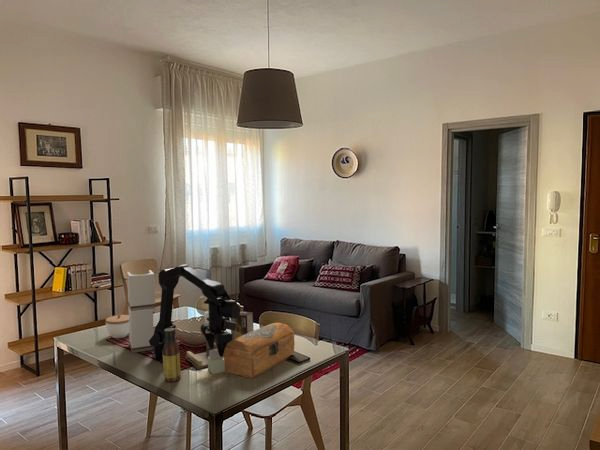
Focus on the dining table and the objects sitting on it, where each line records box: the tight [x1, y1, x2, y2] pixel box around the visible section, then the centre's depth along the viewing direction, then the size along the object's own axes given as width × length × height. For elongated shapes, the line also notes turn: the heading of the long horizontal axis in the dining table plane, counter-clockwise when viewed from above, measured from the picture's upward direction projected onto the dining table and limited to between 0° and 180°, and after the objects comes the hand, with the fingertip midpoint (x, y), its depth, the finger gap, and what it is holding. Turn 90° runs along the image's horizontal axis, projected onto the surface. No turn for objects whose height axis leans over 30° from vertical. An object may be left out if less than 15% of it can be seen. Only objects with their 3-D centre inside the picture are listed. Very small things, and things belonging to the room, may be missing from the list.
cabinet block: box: [207, 349, 226, 375], centre depth 183 cm, size 5×6×8 cm
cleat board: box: [185, 341, 217, 370], centre depth 194 cm, size 12×14×7 cm
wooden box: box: [223, 322, 295, 379], centre depth 191 cm, size 30×16×14 cm, turn 147°
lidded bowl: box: [105, 313, 129, 339], centre depth 228 cm, size 13×13×11 cm
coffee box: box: [230, 310, 255, 340], centre depth 210 cm, size 9×6×16 cm
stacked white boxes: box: [126, 269, 157, 354], centre depth 210 cm, size 11×11×35 cm
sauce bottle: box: [162, 328, 182, 383], centre depth 174 cm, size 7×6×20 cm
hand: (216, 353), depth 183 cm, fingers open, 9 cm apart
